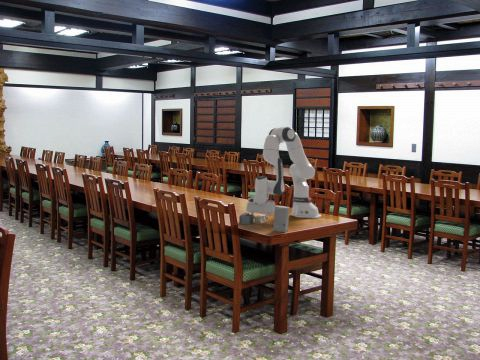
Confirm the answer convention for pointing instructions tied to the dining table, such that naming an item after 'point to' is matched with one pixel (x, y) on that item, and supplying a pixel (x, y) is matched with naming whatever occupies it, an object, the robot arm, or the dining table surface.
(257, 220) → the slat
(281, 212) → the skincare box
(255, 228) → the dining table surface
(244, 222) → the end cap
